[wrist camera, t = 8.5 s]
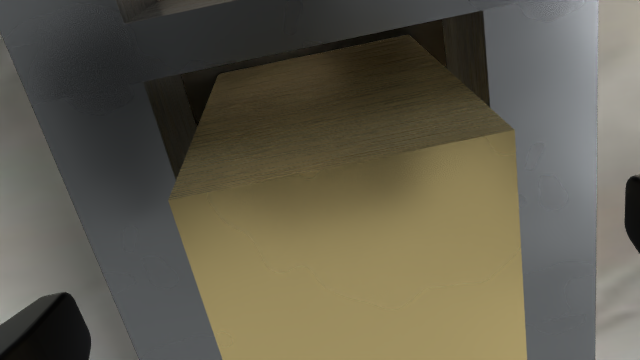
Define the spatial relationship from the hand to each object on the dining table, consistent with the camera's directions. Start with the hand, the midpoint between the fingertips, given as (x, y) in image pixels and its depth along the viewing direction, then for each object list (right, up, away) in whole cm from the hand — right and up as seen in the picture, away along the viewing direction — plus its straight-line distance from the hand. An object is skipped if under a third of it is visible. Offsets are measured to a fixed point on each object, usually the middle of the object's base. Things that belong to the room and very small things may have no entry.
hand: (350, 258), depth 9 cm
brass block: (0, +2, +5) cm, 5 cm away
